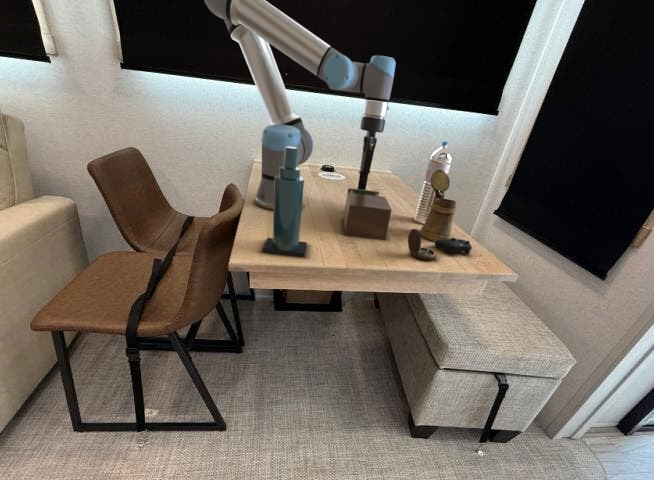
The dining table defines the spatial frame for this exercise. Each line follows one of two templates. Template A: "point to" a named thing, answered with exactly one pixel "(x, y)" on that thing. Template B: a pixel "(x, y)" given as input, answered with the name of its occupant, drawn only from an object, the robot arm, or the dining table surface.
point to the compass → (419, 246)
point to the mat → (298, 252)
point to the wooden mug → (439, 210)
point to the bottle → (287, 203)
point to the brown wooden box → (366, 216)
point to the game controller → (454, 245)
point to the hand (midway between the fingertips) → (360, 192)
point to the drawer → (362, 192)
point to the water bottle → (436, 162)
